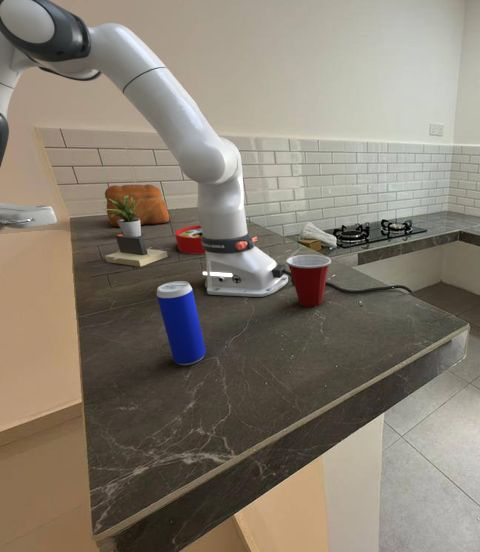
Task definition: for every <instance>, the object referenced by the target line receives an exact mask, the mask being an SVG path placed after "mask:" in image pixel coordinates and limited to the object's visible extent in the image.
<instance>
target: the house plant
mask: <svg viewBox="0 0 480 552" xmlns="http://www.w3.org/2000/svg"><path fill="white" fill-rule="evenodd" d="M128 197H129V196H128V195H127V196H126V197H125V196H124V200H123V203H124V206H123V204H122V203H121V202H120V201H119V200H118V199H116V198H115V200H116V201H117V202H115V201H113V200H111V199H109V200H111V201H112V202H113V203H114V204H115V207H116V206H117V207H118V209H119V210H117V209H116V208H115V209H107V208H106V209H105V208H103V209H102V210H104V211H107V210H110V211H112V212H115V213H116V214H113V213H112V216H111V215H109V216H111V218H112V217H113V216H115V215H116V216H117V215H118V217H119V216H120V218H121V217H122V218H123V219H122V218H121V219H122V220H118V221H117V222H118V224H119V226H120V227H119V228H120V231H121V232H122V235H126V236H134V237H141V236H142V229H141V226H142V225H140V219H136V218H135V216H137V215H134V209H135V207H136V206H137V204H138V203H139V202H140V201H139V202H138V203H137V204H136V205H135V207H134V204H135V202H136V201H135V199H134V202H133V203H132V198H131V201H130V207H128ZM107 199H108V198H107ZM107 199H106V200H107ZM104 204H107V201H104ZM108 205H109V204H108ZM111 205H112V204H111ZM111 205H110V206H111ZM113 206H114V205H113ZM113 206H112V207H113ZM113 208H114V207H113ZM141 210H146V209H141ZM139 211H140V210H139ZM137 212H138V211H137ZM137 212H136V213H137ZM110 213H111V212H110ZM118 213H119V214H118ZM120 213H122V214H123V215H124V216H123V215H122V214H120ZM136 213H135V214H136ZM109 216H108V215H107V217H109Z"/></svg>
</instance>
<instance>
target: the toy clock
mask: <svg viewBox="0 0 480 552" xmlns="http://www.w3.org/2000/svg"><path fill="white" fill-rule="evenodd" d="M174 236H175V239H176V246H177V249H178V251H179V252H181V253H183V254H184V253H185V254H189V255H206V254H205V250H204V249H203V246H202V240H201V236H202V230H201V225H200V224H197V225H192V226H187V227H182V228H180V229H178V230H176V231H175V232H174Z"/></svg>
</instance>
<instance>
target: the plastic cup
mask: <svg viewBox="0 0 480 552" xmlns="http://www.w3.org/2000/svg"><path fill="white" fill-rule="evenodd" d="M331 259H332V258H329V256H328V257H327V256H324V255H321V254H300V255H299V254H298V255H294V256H290V257H288V258H287V259H286V265H288V267H289V270H290V271H289V272H291V274H292V277H293V281H294V284H293V286H294V290H295V293H296V294H297V299H298V302H299V304H300V306H302V307H306V308H313V307H317V306H320V305H321V304H323V303H322V302H323V300H324V295H325V294H324V293H325V289H326V285H325V283H326V282H327V276H328V273H329V271H328V270H329V268H330V267H329V266H330V264H332V260H331Z"/></svg>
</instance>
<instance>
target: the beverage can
mask: <svg viewBox="0 0 480 552" xmlns="http://www.w3.org/2000/svg"><path fill="white" fill-rule="evenodd" d="M156 299H157V302H158V306H159V309H160V313H161V317H162V321H163V325H164V329H165V332H166V336H167V339H168V344H169V348H170V351H171V355H172V358H173V362H174V363H176V364H177V365H179V366H191V365H194V364H196V363H198V362H201V360H202V359H203V358H204V357H205V356H206V354H207V350H206V346H205V341H204V336H203V333H202V332H203V331H202V328H201V322H200V319H199V314H198V309H197V305H196V300H195V295H194V290H193V288H192V286H191V284H190V283H189V282H188V281H186V280H185V281H184V280H179V281H178V280H176V281H175V280H174V281H170V282H166V283H163V284H161V285H159V286H158V287H157V289H156Z"/></svg>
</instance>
